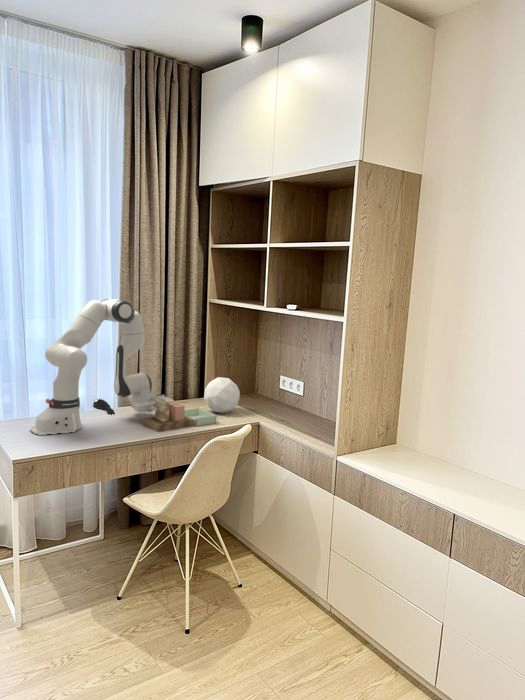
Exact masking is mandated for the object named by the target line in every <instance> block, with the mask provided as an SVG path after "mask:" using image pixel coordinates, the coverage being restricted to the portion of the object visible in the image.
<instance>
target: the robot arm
mask: <svg viewBox="0 0 525 700" xmlns="http://www.w3.org/2000/svg"><path fill="white" fill-rule="evenodd" d="M104 321H110V322H112V323H113V322H115V323H118V324H119V325H120V328H121V329H120V332H121V341H120V344H119V345H117V348H116V351H115V352H116V354H115V371H114V372H115V374H114V375H115V377H114V383H113V388H114V389H113V390H114V392H115V394H116V395H117V396H118V397H121V398H127V397H128V398H127V399H128V401H129V402H130V407H131V408H133V409H134V411H136V412H137V413H144V412H147V413H151V412H153V411H154V412H155V411H159V407H155V400H158V399H162V400H164V401H166V402H169V403H171V402H175V400H174V399H172V398H170V397H168V396H166V395H165V394H154V393H152V388H153V383H152V382H153V381H152V379H151V377H150V376H149V374H147V373H145V372H138V373H134V374H131V375H127V376H126V370H127V360H128V358H129V357H130V356H131V355H133V354H134V353H136V352H137V351H139V350H140V349H141V348H142V347H143V345H144V344H145V341H146V337H145V335H146V334H145V328H144V323H143V320H142V316H141V314H140V313H139V311H136V310H134V308H133V305H132V304H131V303H130V302H129V301H128V300H125V299H118V298H106V299H103V300H101V301H100V300H97V299H96V300H95V299H92V300H90V301H88V302H87V303H86V304H85V306H83V308H82V309H81V310H80V312H79V313H78V315H77V316H76V317H75V319H74V321H73V322H72V324H71V325H70V326H69V328H68V329H67V330H66V331H65V332H64V334H63V335H61V336H60V337H59V338H58V339H57V340H56V341H55V342H54V343H52V344H50V345H48V347H47V348H46V349H45V354H44V357H45V359H46V360H47V362H48V363H49V364H51V365H52V366H54V367H57V368H58V370H57V375H56V378H55V379H54V380H53V383H52V384H53V385H52V386H53V387H52V393H53V394H52V395H53V396H52V398H51V399H50V398H46V399H45V403H46V404H48V406H47V408H45V409H44V410H43V411H42V412H40V413H39V414H38V415H37V416H36V418H35V425H31V426H30V428H29V431H30V430H31V431H32V432H33V433H32V432H31V431H30V432H31V433H32V434H34V433H35V434H34V435H36V434H38V435H37V436H48V435H47V434H52V435H58V434H57V433H62V434H69V433H70V432H73V433H76V432H77V431H78V430H81V429H82V428H83V424H82V420H81V415H80V405H81V401H80V397H79V395H80V391H79V390H80V389H79V385H80V377H81V374H82V371H83V369H84V368H85V367H86V365H87V363H88V355H87V354H86V352H85V351H83V350H82V348H83V347H84V346H85V345H88V344H89V343H90V342H91V341H92V340H93V338H94V336H95V335H96V333H97V331H98V330H99V328H100V327H101V325H102V323H103V322H104ZM76 430H77V431H76ZM75 431H76V432H75ZM70 434H71V433H70Z"/></svg>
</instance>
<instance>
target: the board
mask: <svg viewBox="0 0 525 700" xmlns="http://www.w3.org/2000/svg"><path fill="white" fill-rule="evenodd" d="M142 422H143V423H142V424H143V425H144V426H146V427H147V428H150V429H151V430H153V431H155V432H165V431H168V430H169V431H170V430H176V429H182V428H187V427H195V426H194V420H193V419H191V418H189V417H186V416H184V420H179V421H174V420H172V419H170V418H169V421H165V422H163V421H161V420H159V419H157V418H155V416H152V417H145V418H144V417H143V421H142Z"/></svg>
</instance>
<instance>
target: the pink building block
mask: <svg viewBox="0 0 525 700" xmlns="http://www.w3.org/2000/svg"><path fill="white" fill-rule="evenodd" d="M185 406H186V405H184V404H181V403H179V404H177V405H171V419H172V420H174V421H179V420H184V411H185V410H186V409H185V408H186V407H185Z"/></svg>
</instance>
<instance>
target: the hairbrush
mask: <svg viewBox="0 0 525 700" xmlns="http://www.w3.org/2000/svg"><path fill="white" fill-rule="evenodd" d="M96 399H97V400H98V399H99V400H98V401H97V402H94V401H93V402H94V403H93V405H92V407H93V408H94V409H97V410H105V411H106V412H107V414H108V415H109V414H111V415H110V416H113V415H112V414H114V415H115V411H114V409H113V408H111V406H110V404H109V402H107V401H105V400H104V398H96Z"/></svg>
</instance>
